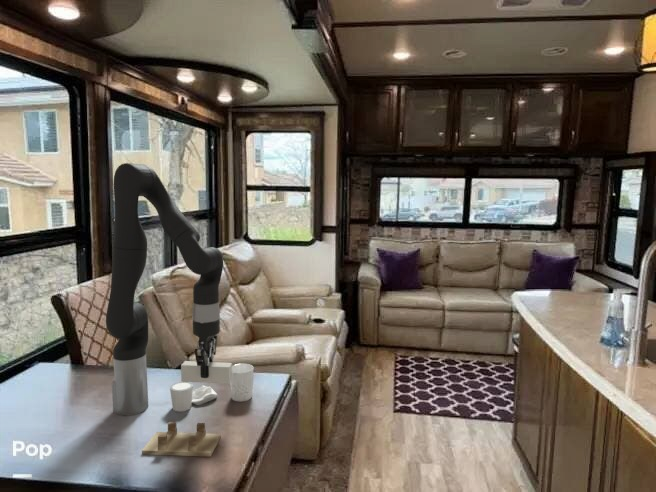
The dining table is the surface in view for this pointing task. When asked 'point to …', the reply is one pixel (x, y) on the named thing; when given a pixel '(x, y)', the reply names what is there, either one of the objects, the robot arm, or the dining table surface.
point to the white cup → (241, 382)
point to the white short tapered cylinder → (181, 396)
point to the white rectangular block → (216, 372)
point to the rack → (182, 442)
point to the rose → (203, 395)
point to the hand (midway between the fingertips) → (206, 374)
